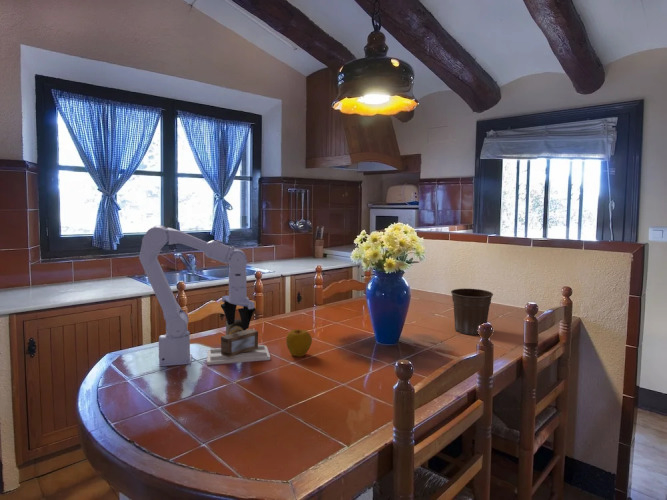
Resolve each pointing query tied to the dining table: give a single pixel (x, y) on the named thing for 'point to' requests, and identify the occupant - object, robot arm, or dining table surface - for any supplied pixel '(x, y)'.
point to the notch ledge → (237, 356)
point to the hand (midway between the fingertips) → (238, 326)
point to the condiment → (234, 327)
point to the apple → (298, 342)
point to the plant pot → (470, 309)
